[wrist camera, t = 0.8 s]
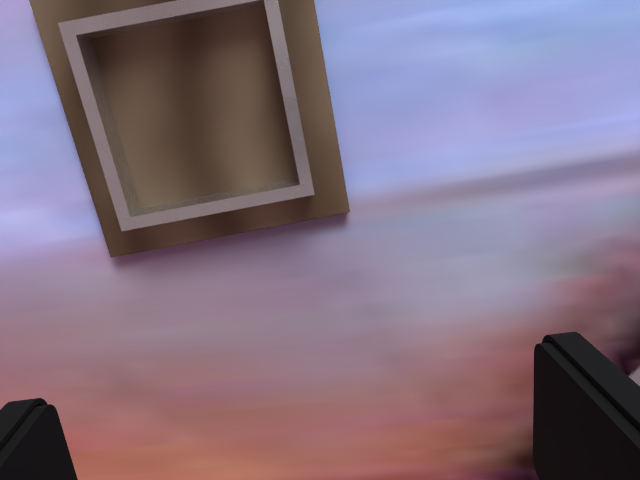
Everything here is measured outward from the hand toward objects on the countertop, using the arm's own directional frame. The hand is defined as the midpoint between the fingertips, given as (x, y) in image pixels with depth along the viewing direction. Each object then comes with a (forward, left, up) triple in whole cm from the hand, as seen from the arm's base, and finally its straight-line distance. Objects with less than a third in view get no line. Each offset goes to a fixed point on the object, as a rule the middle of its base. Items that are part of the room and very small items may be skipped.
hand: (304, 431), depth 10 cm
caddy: (+5, -6, -28) cm, 29 cm away
